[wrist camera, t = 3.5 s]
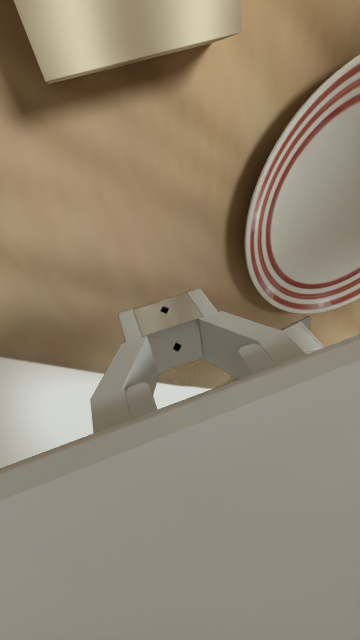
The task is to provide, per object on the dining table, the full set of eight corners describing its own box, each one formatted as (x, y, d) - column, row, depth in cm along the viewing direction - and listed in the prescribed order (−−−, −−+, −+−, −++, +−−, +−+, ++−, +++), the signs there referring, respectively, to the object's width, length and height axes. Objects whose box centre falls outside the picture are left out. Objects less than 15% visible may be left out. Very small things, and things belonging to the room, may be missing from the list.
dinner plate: (266, 334, 43) (278, 348, 40) (194, 150, 24) (208, 156, 22) (431, 235, 41) (455, 244, 38) (485, -42, 23) (536, -60, 20)
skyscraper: (264, 365, 47) (421, 577, 26) (257, 334, 42) (448, 569, 21) (308, 343, 48) (500, 536, 27) (307, 309, 42) (547, 518, 21)
